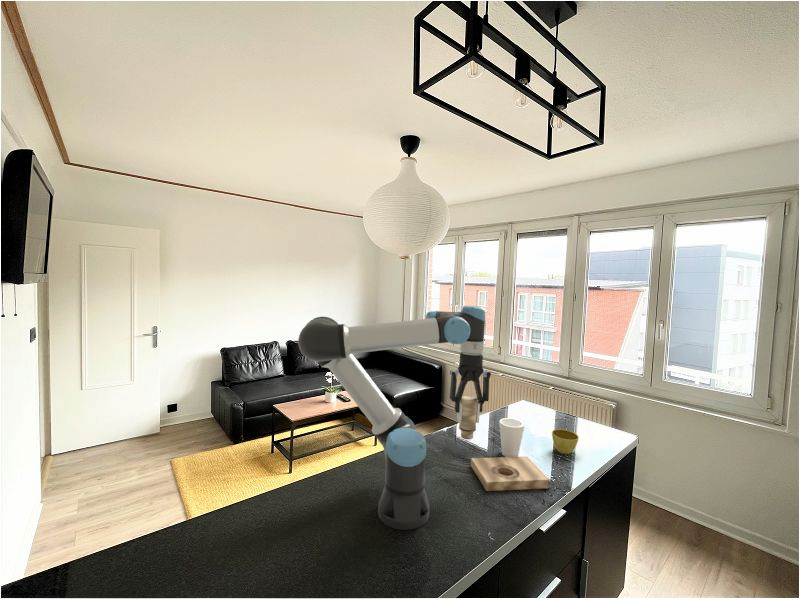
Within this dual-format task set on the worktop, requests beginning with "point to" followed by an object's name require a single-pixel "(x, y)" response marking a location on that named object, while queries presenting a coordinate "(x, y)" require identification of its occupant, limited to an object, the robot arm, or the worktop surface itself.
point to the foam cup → (511, 436)
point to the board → (508, 473)
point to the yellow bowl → (564, 440)
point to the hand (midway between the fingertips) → (467, 421)
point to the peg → (468, 417)
